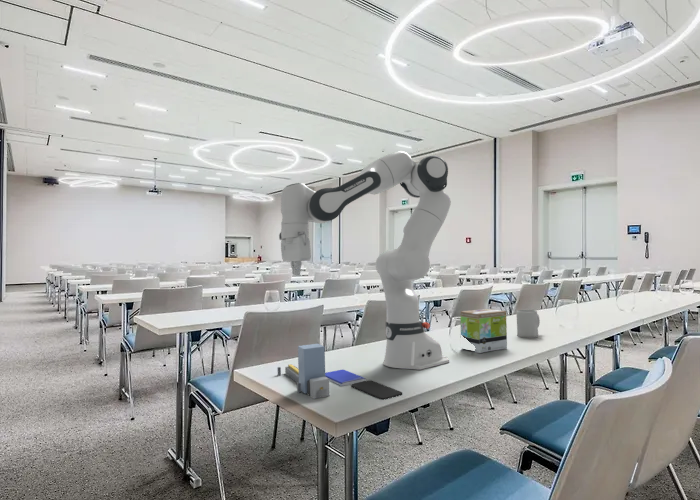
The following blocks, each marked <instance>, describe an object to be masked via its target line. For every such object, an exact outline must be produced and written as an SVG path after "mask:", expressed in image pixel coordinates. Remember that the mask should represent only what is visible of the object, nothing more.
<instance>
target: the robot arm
mask: <svg viewBox="0 0 700 500" xmlns="http://www.w3.org/2000/svg"><path fill="white" fill-rule="evenodd" d="M448 174H449V167H448V163H447V162H446V160H445V159H444V158H442V157H441V156H440V155H432V154H431V155H428V156H426V157H423V158H422V159H421V160H420V161H418V163H417V162H415V161H414V160H413V159H412V157H411V155H410V154H408V153H407V152H406V151H403V150H397V151H394V152H390V153H388V154H385V155H383V156H381V157H380V158H377V159H375V160H374V161H372V162H370V163H369V164H368V165H366V166H365V167H364V168H363V169H362V170H361V171H360V173H359V175H357V176H356V177H355V178H354V177H353V178H352V179H350V180H348V181H346V182H345V183H342V184H341V185H339V186H335V187H326V188H325V187H324V188H320V189H318V190H317V191H315V190H314V189H312V188H309V187H308V186H307V185H306V184H305V183H301V182H300V183H299V182H298V183H297V182H296V183H292V184H288V185H286V186H285V187H284V188H283V189H282V190H281V195H280V213H281V219H282V220H281V224H280V225H281V226H280V227H281V228H280V232H279V234H278V240H279V241H281V242H280V251H281V252H280V253H281V259H282V261H283V262H285V263H286V262H290V266H291V267H290V268H291V271H292V272H291V273H292V276H301V269H302V262H306V261H307V262H309V261H310V260H311V259H312V251H311V250H312V249H311V241H310V235H309V234H310V233H309V222H311V223H316V224H325V223H327V222H330V221H332V220H335V219H336V218H337V217H339V215H340V214H341V213H342V212H343V210H344V209H345V208H346V207H347V206H349V204H351V203H353V202H354V201H356V200H358V199H360V198H362V197H363V196H366V195H369V194H370V195H374V196H375V195H379V194H381V193H384V192H386V191H388V190H390V189H392V188H394V187H396V186H397V185H399V184H400V186H401V187H402V188H403V189H404V191H405V192H406V194H408V195H409V196H410V197H412V198H416V199H419V200H418V203H417V205H416V207H415V208H414V210H413V211H412V212H411V215H410V217H409V219H408V220H407V222H406V223H405V226H404V227H403V237H402V240H401V242H400V245H399V246H398V247H396V248H391V249H387V250H385V251H383V252H381V254H379V255H378V257H377V258H376V260H375V269H376V271H377V273H378V274H379V277H380V280H381V284H382V287H383V288H382V289H383V293H384V297H385V307H386V308H385V312H386V321H385V338H386V345H385V353H384V358H383V362H382V364H383V365H384V366H385V367H389V368H393V369H405V370H406V369H407V370H409V369H411V370H424V369H428V368H432V367H436V366H439V365H443V364H447V363H450V359H449V358H448V357H447V356H445V355H443V352H442V346H441V344H440V343H439V341H437V340H436V339H434V338H433V337H432V336H430V335H429V334H428V333H426V331H425V329H430V327H431V324H430V323H429V322H425V321H423V322H422V321H420V306H419V305H420V301H419V296H418V295H417V293H416V292H415V290H414V287H413V283H412V282H414V281H417V280H420V279H423V278H424V277H425V276H426V275H427V274H428V273H429V270H430V266H431V263H430V262H431V261H430V258H429V257H430V256H429V255H430V251H431V247H432V245H433V242H434V241H435V239H436V237H437V236H438V233H439V231H441V228H442V226H443V224H444V222H445V220H446V218H447V216H448V213H449V210H450V207H451V204H452V201H451V198H450V196H449V195H448V194H447V192H445V191H444V189H446V187H447V185H448Z"/></svg>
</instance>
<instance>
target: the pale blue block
mask: <svg viewBox="0 0 700 500" xmlns="http://www.w3.org/2000/svg"><path fill="white" fill-rule="evenodd" d="M325 350H326V347H325V345H322V344H320V343H312V344H303V345H297V360H298V365H297V366H298V367H297V368H298V369H299V383H301V393H304V394H307V381H308V380H310V379H313V378H319V377H325V373H326V356H325V355H326V352H325Z"/></svg>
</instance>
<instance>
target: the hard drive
mask: <svg viewBox="0 0 700 500" xmlns="http://www.w3.org/2000/svg"><path fill="white" fill-rule="evenodd" d="M325 377H327V378H328V379H329V382H332V383H335V384H337V385H339V386H340V387H343V386H349V385H352V384H354V383H359V382H363V381H367V379H366V377H364V376H361V375H359V374H356V373H353V372H351V371H348V370H346V369H338V370H333V371H327V372H326V371H325Z"/></svg>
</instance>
